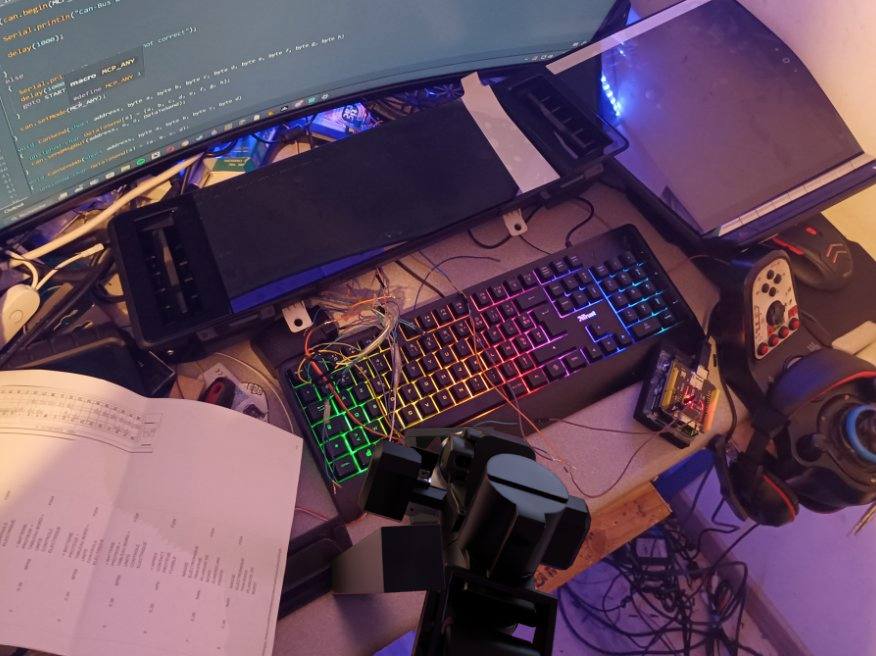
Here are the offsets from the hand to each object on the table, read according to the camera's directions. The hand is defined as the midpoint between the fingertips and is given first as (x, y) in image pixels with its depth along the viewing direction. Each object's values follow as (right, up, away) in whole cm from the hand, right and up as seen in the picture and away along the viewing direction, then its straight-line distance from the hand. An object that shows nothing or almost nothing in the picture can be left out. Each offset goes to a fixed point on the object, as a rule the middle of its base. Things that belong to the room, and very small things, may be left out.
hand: (470, 451), depth 68 cm
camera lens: (-1, -4, +6) cm, 7 cm away
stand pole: (-12, -12, +1) cm, 17 cm away
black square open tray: (-1, -4, +6) cm, 8 cm away
